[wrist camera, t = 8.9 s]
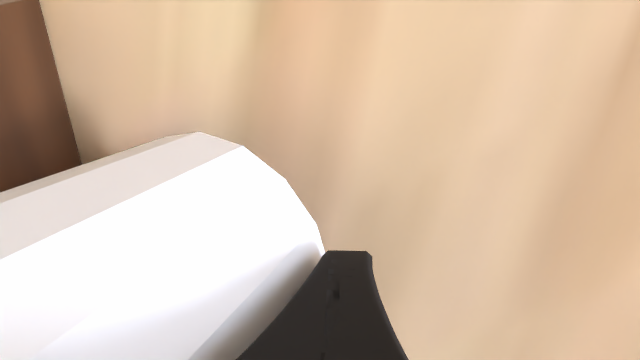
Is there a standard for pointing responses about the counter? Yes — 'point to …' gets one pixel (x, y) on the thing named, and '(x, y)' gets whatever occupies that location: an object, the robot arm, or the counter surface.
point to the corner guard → (30, 100)
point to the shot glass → (151, 255)
